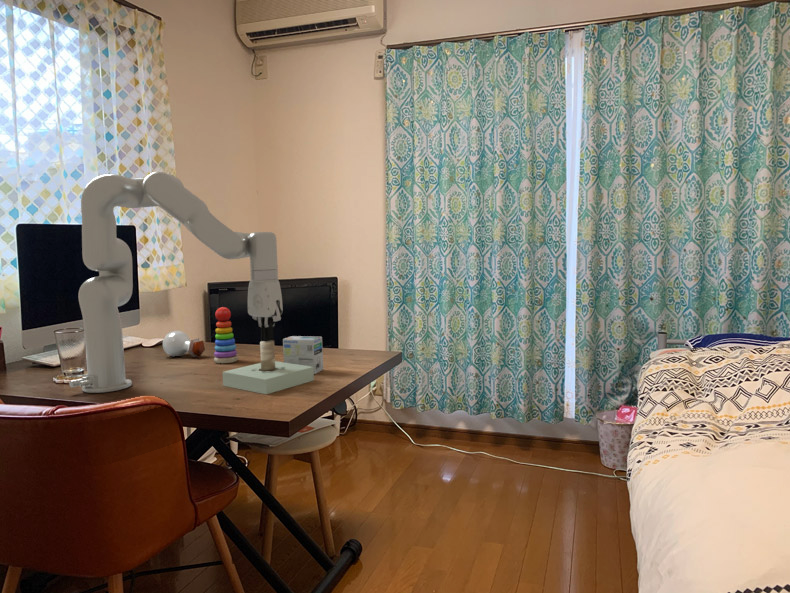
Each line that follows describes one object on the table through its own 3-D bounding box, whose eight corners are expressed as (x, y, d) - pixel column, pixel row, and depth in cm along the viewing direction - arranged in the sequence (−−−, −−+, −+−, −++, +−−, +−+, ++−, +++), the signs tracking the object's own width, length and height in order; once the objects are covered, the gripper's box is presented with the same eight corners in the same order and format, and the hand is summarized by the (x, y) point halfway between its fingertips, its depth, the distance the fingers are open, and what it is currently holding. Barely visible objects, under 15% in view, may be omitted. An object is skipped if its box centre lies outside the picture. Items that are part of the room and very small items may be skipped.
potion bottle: (167, 358, 212) (200, 365, 207) (152, 347, 204) (186, 354, 199) (178, 336, 216) (211, 342, 211) (164, 324, 208) (197, 330, 203)
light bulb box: (324, 369, 181) (322, 335, 180) (315, 374, 175) (314, 339, 174) (292, 368, 184) (291, 335, 183) (283, 373, 178) (281, 338, 177)
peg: (268, 385, 163) (266, 343, 161) (258, 383, 165) (256, 342, 164) (279, 382, 166) (277, 341, 165) (269, 380, 168) (267, 340, 167)
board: (266, 394, 153) (265, 379, 152) (223, 385, 163) (222, 371, 163) (313, 380, 167) (313, 366, 167) (271, 373, 178) (270, 360, 178)
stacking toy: (241, 359, 201) (239, 305, 199) (233, 364, 193) (230, 308, 191) (219, 359, 201) (217, 306, 200) (210, 364, 193) (207, 308, 192)
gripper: (236, 276, 164) (239, 340, 166) (272, 277, 155) (275, 344, 157) (257, 275, 170) (260, 336, 172) (292, 275, 161) (295, 340, 163)
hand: (267, 340), depth 164 cm, fingers closed
